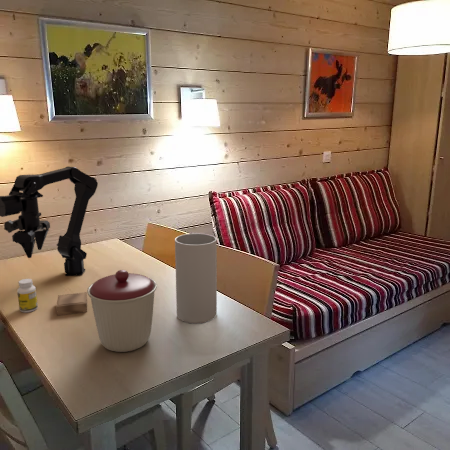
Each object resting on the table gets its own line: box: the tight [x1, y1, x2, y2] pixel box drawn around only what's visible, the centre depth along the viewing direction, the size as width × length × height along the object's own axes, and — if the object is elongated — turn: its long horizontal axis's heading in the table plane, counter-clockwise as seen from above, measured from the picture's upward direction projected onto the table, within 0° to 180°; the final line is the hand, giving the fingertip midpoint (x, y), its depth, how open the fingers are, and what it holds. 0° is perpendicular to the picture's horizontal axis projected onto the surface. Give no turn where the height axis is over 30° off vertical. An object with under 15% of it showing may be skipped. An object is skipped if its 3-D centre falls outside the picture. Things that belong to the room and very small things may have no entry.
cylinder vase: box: [174, 232, 218, 324], centre depth 131 cm, size 12×12×25 cm
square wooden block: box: [55, 291, 88, 316], centre depth 138 cm, size 9×9×3 cm
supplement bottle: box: [16, 278, 39, 313], centre depth 136 cm, size 5×5×10 cm
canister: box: [86, 269, 158, 353], centre depth 115 cm, size 18×18×21 cm
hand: (34, 253), depth 153 cm, fingers open, 9 cm apart
